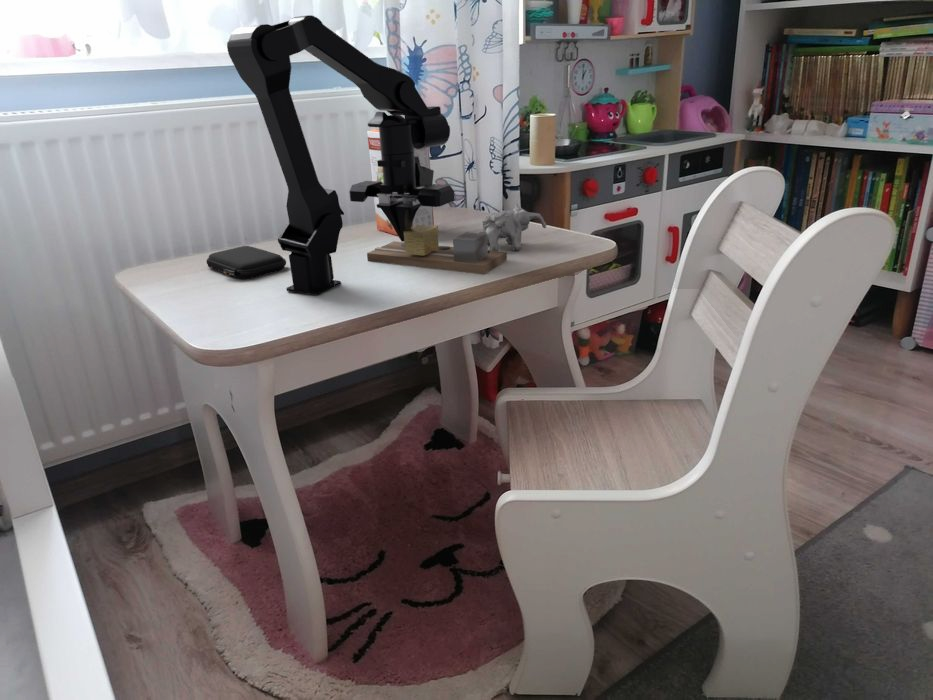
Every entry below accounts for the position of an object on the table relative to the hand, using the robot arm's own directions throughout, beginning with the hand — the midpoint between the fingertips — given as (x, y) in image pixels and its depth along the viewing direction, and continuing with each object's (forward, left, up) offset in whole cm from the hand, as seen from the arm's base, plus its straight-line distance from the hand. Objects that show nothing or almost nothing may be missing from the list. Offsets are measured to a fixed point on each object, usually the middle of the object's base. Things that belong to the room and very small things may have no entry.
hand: (404, 241), depth 125 cm
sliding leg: (+1, -4, -2) cm, 4 cm away
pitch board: (+2, -6, -4) cm, 7 cm away
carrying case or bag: (-15, +26, -4) cm, 30 cm away
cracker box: (+18, +11, -4) cm, 21 cm away
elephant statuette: (+15, -15, -4) cm, 21 cm away
